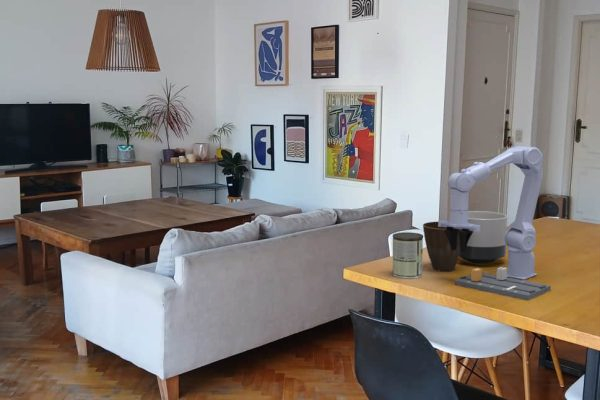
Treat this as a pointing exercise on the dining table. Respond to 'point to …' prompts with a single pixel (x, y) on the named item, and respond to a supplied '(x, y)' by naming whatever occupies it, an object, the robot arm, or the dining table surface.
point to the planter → (486, 238)
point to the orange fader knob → (476, 274)
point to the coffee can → (407, 255)
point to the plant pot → (440, 247)
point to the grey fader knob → (501, 273)
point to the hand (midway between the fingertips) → (458, 250)
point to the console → (505, 286)
